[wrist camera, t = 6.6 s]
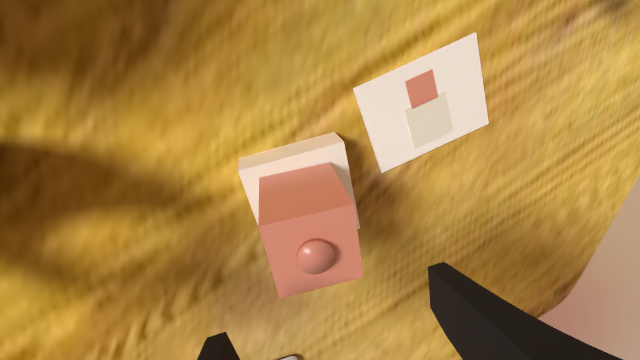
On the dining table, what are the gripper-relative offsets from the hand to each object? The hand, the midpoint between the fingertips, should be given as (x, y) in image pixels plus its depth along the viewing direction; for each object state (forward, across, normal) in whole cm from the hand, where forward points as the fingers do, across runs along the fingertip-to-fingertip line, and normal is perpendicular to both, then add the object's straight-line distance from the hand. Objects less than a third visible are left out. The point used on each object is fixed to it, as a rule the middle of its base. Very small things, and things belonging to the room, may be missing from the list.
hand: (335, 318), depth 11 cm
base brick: (+11, 0, 0) cm, 11 cm away
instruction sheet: (+10, -9, -3) cm, 14 cm away
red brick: (+8, 0, 0) cm, 8 cm away
